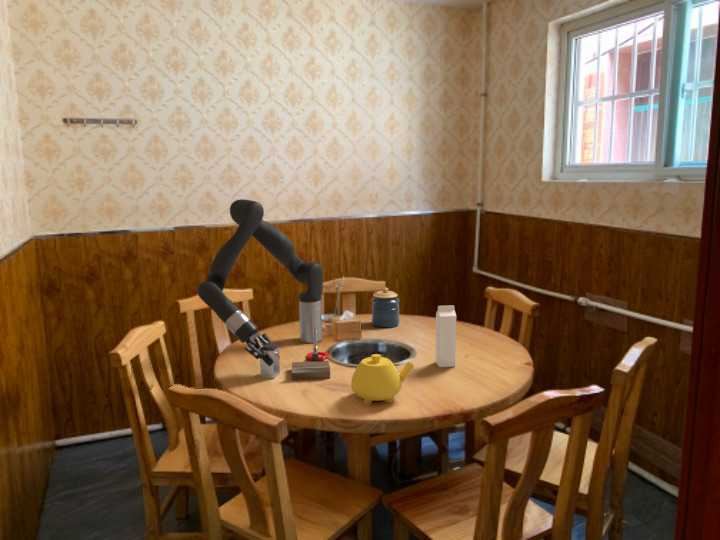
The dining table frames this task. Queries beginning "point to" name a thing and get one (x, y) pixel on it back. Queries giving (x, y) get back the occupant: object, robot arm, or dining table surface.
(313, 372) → the coupler plate
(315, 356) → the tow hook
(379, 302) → the canister
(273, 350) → the grey rectangular container
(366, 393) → the teapot
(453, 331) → the milk
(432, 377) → the dining table surface
